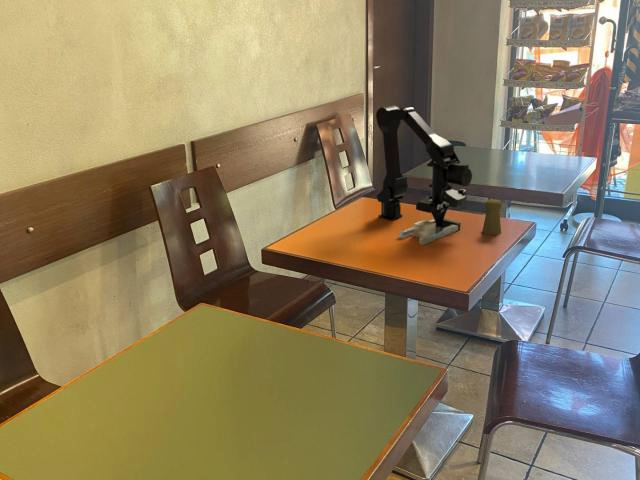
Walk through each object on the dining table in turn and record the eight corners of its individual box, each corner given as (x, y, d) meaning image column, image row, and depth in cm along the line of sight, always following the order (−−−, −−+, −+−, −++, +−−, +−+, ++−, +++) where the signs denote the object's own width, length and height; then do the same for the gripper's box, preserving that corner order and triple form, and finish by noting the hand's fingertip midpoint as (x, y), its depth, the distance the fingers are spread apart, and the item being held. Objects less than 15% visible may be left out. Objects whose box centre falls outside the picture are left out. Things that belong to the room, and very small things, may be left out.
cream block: (413, 236, 206) (413, 223, 204) (423, 232, 209) (423, 219, 208) (425, 239, 203) (425, 226, 201) (435, 236, 206) (435, 223, 204)
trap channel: (399, 237, 205) (399, 230, 204) (436, 223, 217) (436, 216, 217) (423, 244, 198) (423, 237, 197) (460, 229, 210) (460, 222, 210)
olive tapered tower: (501, 235, 204) (503, 203, 200) (482, 234, 205) (484, 202, 201) (500, 229, 209) (502, 197, 206) (481, 228, 211) (483, 197, 207)
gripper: (443, 191, 193) (441, 238, 199) (477, 179, 205) (475, 224, 210) (415, 185, 201) (414, 230, 207) (450, 174, 213) (448, 217, 218)
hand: (439, 225), depth 210 cm, fingers closed
